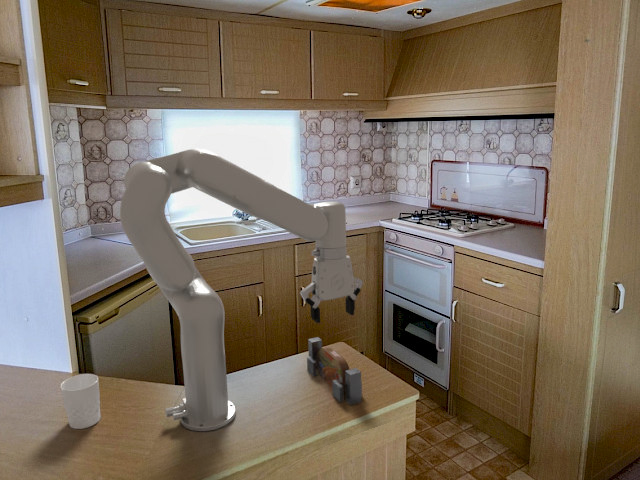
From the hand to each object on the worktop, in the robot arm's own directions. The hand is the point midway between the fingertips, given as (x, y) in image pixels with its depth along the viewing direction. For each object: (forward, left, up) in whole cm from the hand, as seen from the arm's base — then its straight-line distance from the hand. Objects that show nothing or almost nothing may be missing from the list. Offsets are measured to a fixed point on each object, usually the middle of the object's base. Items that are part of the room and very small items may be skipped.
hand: (333, 317), depth 130 cm
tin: (0, 0, -18) cm, 18 cm away
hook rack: (0, 0, -18) cm, 18 cm away
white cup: (-59, +12, -18) cm, 63 cm away
